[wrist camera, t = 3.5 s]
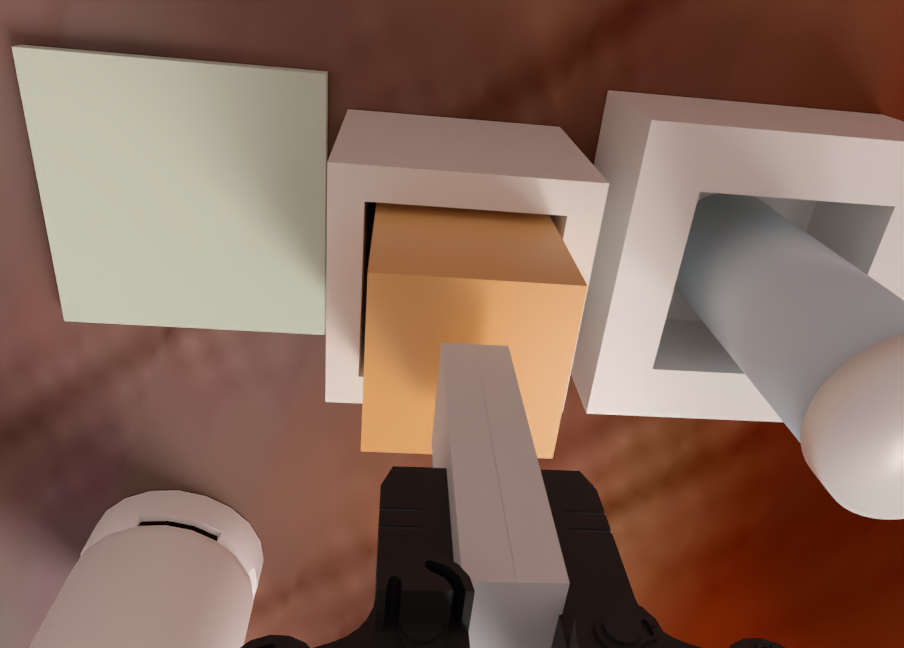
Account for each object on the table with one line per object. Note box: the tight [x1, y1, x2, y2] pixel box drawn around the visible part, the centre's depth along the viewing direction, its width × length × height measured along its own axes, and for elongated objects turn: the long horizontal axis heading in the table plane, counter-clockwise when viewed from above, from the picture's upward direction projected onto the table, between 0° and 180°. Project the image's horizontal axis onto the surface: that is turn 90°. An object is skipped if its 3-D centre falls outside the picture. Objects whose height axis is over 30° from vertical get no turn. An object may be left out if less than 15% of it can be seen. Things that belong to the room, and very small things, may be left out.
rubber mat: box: [12, 45, 328, 335], centre depth 25 cm, size 10×10×1 cm
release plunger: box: [361, 202, 588, 459], centre depth 20 cm, size 5×5×8 cm
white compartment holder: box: [325, 90, 904, 422], centre depth 24 cm, size 20×10×7 cm, turn 85°
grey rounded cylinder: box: [675, 193, 904, 520], centre depth 21 cm, size 5×5×12 cm
